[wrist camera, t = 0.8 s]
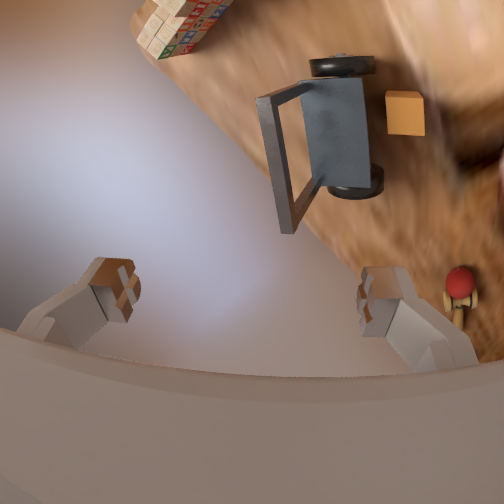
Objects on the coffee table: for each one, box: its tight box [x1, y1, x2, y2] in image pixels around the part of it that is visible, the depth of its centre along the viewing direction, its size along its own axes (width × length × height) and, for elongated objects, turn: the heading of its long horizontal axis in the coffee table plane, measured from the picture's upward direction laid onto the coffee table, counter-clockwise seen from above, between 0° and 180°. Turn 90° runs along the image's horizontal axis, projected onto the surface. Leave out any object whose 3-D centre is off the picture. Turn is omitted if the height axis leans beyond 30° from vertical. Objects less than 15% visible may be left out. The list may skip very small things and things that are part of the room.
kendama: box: [443, 267, 478, 332], centre depth 50 cm, size 8×6×18 cm
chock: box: [385, 90, 425, 136], centre depth 35 cm, size 5×5×8 cm
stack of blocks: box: [136, 0, 234, 60], centre depth 35 cm, size 21×6×12 cm, turn 137°
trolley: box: [255, 53, 384, 234], centre depth 35 cm, size 10×21×23 cm, turn 13°
